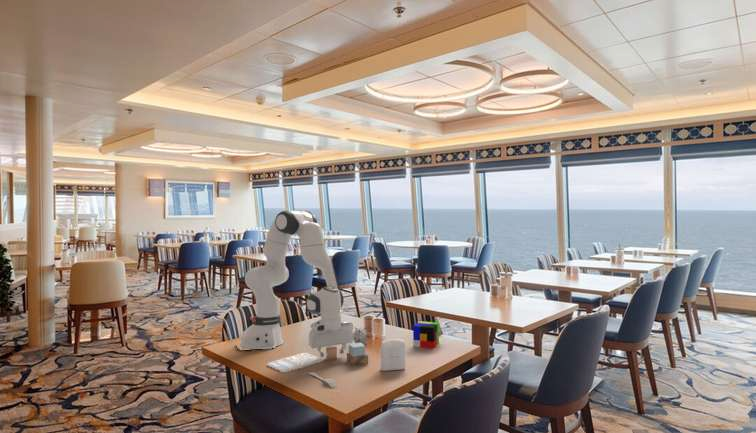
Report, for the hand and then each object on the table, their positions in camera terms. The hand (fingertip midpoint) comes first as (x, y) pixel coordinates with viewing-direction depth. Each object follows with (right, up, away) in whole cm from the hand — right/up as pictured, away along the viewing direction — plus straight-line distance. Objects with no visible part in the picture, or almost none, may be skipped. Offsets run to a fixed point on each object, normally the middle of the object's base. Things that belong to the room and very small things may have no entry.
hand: (331, 355), depth 192 cm
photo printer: (+27, -2, -14) cm, 30 cm away
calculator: (-15, -3, -5) cm, 16 cm away
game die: (+12, -2, +21) cm, 24 cm away
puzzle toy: (+44, -1, +19) cm, 48 cm away
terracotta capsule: (0, -2, 0) cm, 2 cm away
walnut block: (+12, -2, -5) cm, 13 cm away
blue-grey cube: (+11, +2, -6) cm, 13 cm away
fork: (-1, -2, -25) cm, 25 cm away
